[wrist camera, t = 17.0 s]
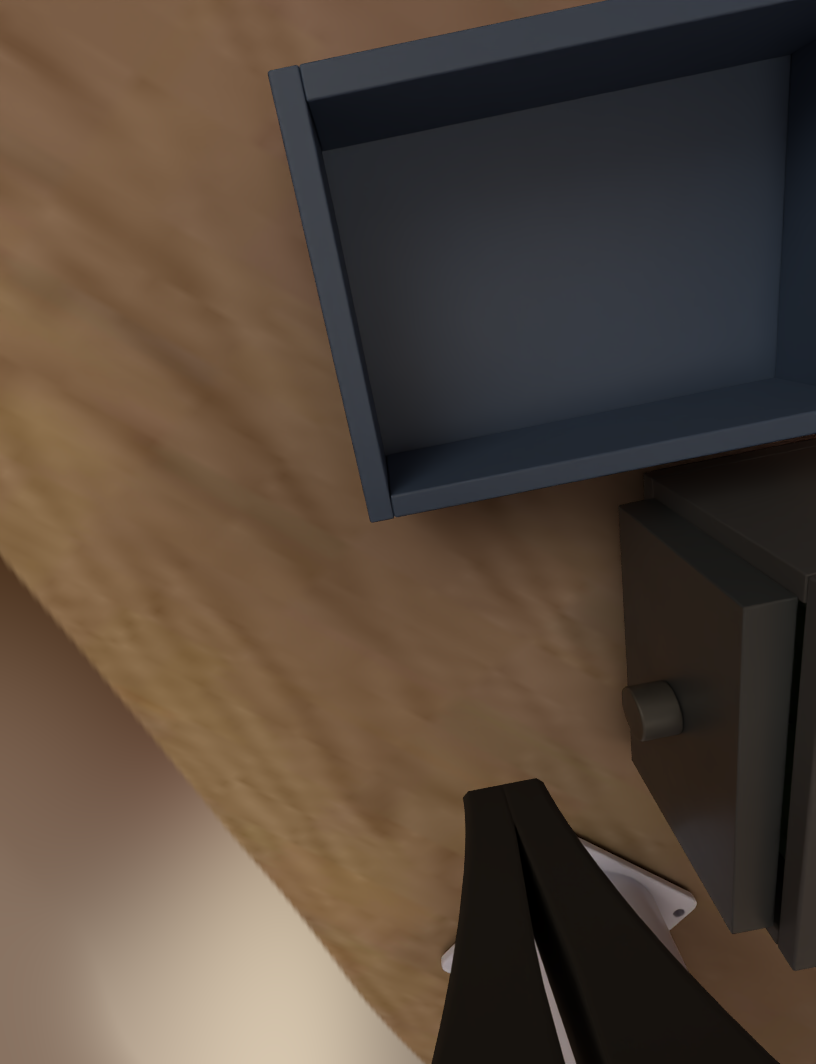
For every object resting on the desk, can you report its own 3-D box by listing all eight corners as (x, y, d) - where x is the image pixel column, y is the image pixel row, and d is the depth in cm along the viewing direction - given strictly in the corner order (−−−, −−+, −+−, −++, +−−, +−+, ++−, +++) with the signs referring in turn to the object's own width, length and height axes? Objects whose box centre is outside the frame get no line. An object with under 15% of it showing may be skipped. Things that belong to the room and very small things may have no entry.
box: (369, 472, 18) (370, 523, 14) (295, 135, 15) (266, 69, 11) (779, 389, 18) (904, 417, 14) (799, 31, 15) (972, -78, 11)
